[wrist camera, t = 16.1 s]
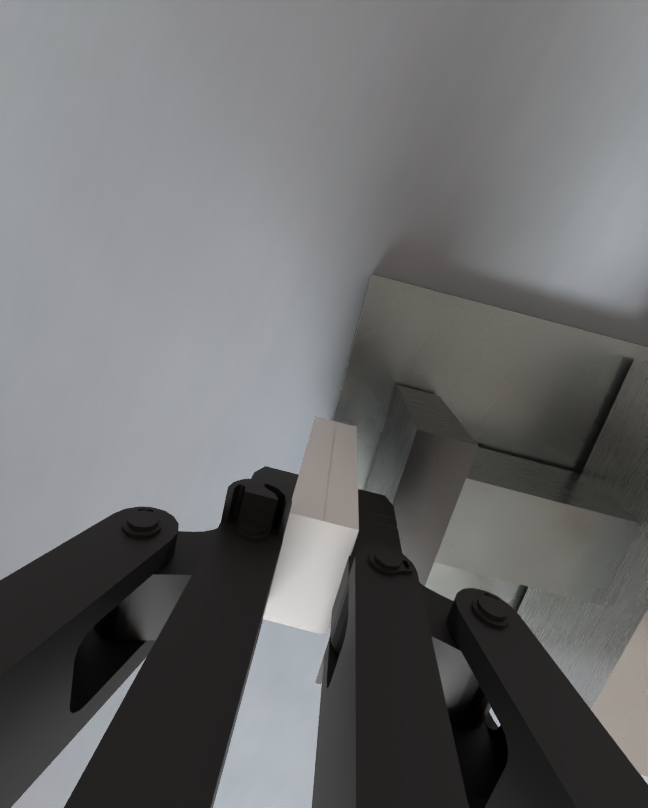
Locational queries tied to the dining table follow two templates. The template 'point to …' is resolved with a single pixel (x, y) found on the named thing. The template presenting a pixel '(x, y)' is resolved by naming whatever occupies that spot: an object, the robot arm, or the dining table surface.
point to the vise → (481, 386)
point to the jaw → (540, 539)
